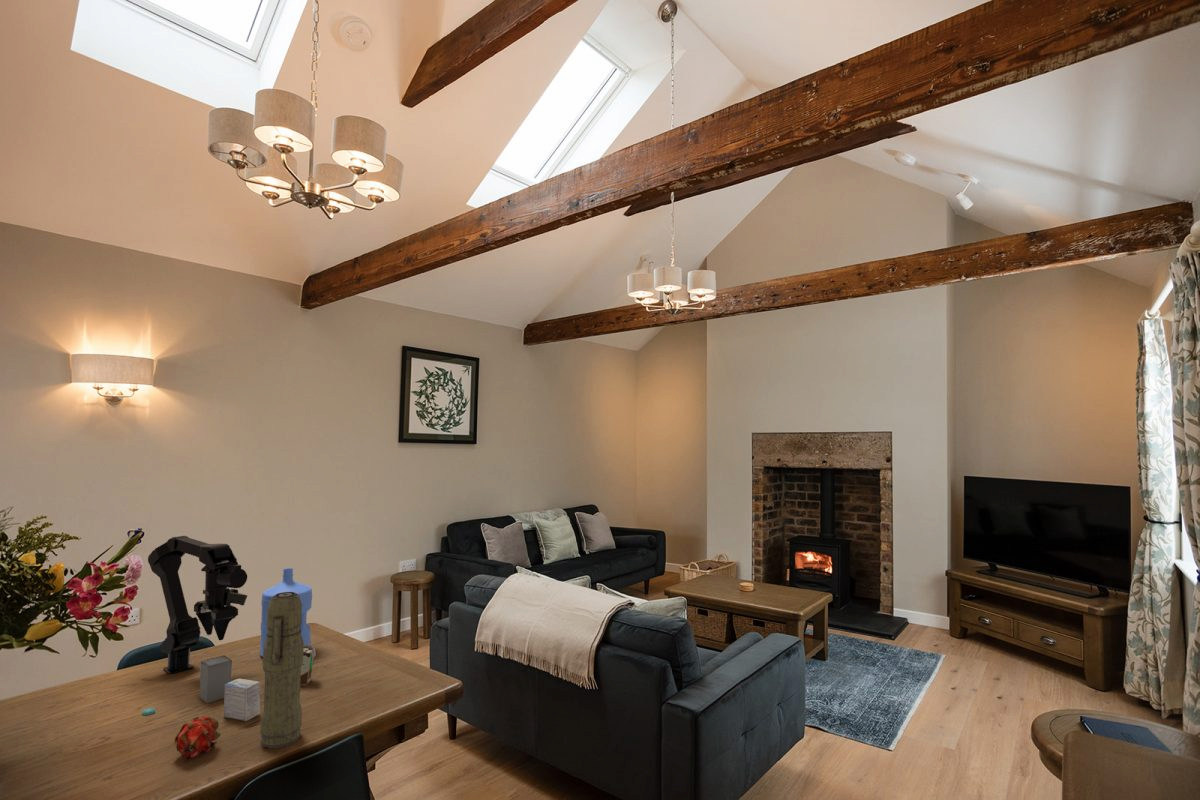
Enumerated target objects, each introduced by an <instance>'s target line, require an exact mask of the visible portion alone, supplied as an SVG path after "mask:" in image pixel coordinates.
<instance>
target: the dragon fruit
mask: <svg viewBox="0 0 1200 800" xmlns="http://www.w3.org/2000/svg"><path fill="white" fill-rule="evenodd" d="M219 724H220V723H219V721H218V720H217V719H215V718H214V717H212V716H211V715H209V714H206V715H202V716H201V717H200V718H199V716H196V717H195V716H194V717H193V718H192V720H191V722H190V723H184V724H183V725H182V726H181V727H180V728H179V731H178V733H177V734H176V736H175V738H174V745H175V747H176V751H177V752H179V754H181V755H182V756H183V759H184V760H185V761H189V760H190V759H194V758H197V757H199V756H200V755H201V752H202V753H204V754H207V753H208V752H209V751H210V750H211V749H213V748H214V747H215V745H217V743H218V741H216V740H218V739H219V738H220V737H221V733H220V732H218V731H217V730H218V729H219Z"/></svg>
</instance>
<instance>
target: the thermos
mask: <svg viewBox="0 0 1200 800" xmlns="http://www.w3.org/2000/svg"><path fill="white" fill-rule="evenodd" d="M301 621H302V603H301V600H300V597H299V594H297V593H295V592H282V593H278V594H276V595H274V596H272V598H271V600H270V603H269V606H268V610H267V629H268V633H267V639H266V642H265V644H264V647H263V657H262V670H263V672H264V683H263V684H264V685H263V686H264V689H263V691H264V692H263V713H262V714H261V715H262V716H261V718H260V727H259V728H260V739H261V740H260V746H261V745H262V746H261V747H262V748H265V747H268V748H267V749H278V748H279V749H280V748H283V747H288V746H290V745H292V744H294V743H295V742H297V741H299V740H300V737H301V735H302V734H301V726H302V724H303V723H302V722H303V720H302V719H303V712H302V705H301V703H300V701H301V700H300V699H301V685H300V677H301V666H302V663H303V645H304V642H303V639H302V636H301V629H300V625H301Z"/></svg>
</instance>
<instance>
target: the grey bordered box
mask: <svg viewBox="0 0 1200 800" xmlns="http://www.w3.org/2000/svg"><path fill="white" fill-rule="evenodd" d="M232 664H233V659H231V658H229V657H227V655H220V656H216V657H213V658H208V659H204V660H200V669H199V670H200V673H199V674H200V675H199V695H198V697H199V698H200V699H201V700H202V701H203V702H205V703H206V704H208V703H212V702H215V701H218V700H222V699H224V692H225V684H227V683H229V682H231V681H232V672H233V671H232V670H233V669H232V667H233V665H232Z"/></svg>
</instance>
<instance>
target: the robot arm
mask: <svg viewBox="0 0 1200 800" xmlns="http://www.w3.org/2000/svg"><path fill="white" fill-rule="evenodd" d="M186 554H187V555H190V556H193V557H196V558H198V561H199V562H200V563H201V564H203V565H204V567H202V568H201V572H204V573H205V575H204V576H205V579H204V580H205V582H204V589H203V590H202V595H203V594H204V595H205V596H204V600H201V601H197V602H196V603H195V604H193V612H195V615H196V616H197V617H196V616H194V617H192V616H191V615H190V614H189V610H188V608H187V607H188V606H187V603H186V600H185V595H184V591H183V586H182V584H181V579H180V574H179V570H180V568H181V565H182V561H183V560H182V557H184V556H185V555H186ZM147 562H148V564H149V567H150V569H151V572H152V573H154V574H155V575H156V576H157V577H158V578H159V579H160V583H161V588H162V589H161V590H162V592H163V596H164V602H165V605H166V608H167V613H168V617H169V623H168V625H167V628H166V631H165V632H166V637H165V639H164V640H162V642H161V644H160V646H159V648H160V653H163V654H166V655H167V654H168V656H167V666H164V667H162V669H163V671H165V672H167V673H169V674H170V675H171V674H175V673H178V672H182V671H187V670H190V669H194V668H195V666H194V665H193V664H191V663H190V658H191V657H190V655H191V648H193V647H197V646H198V643H199V640H200V636H201V627H200V625H199V622H200V624H201V626H202V627H203V629H204V631H205V634H206V636H211V635H212V633H213V629H214V631H215V634H216V636H217V639H218V641H222V640H224V639H225V635H226V632H227V629H228V627H229V624H230V622H231V621H232V620H234V619H236V617H237V616H239V608H238V607H236V606H234V605H233V604H235V605H240V606H245V603H246V601H247V598H248V595H247V594H244V593H239V590H238V589H240V588H242V587H244V585H245V584H246V583H247V580H248V574H247V572H246V570H245V569H244V568H243V569H242V564H239V563H238V559H237V557H236V556H235V554H234V552H233V550H232V549H231V546H230V545H229V544H227V543H208V542H204V541H200V540H198V539H196V538H195V539H194V538H191V537H189V536H186V535H180V536H172V537H171V538H169V539H168V540H167V541H166V542H164V543H162V544H160V545H159V546H157V547H155V548H154V549H153V550H152V551H151V552H150V553H149V555H148V557H147Z"/></svg>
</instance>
